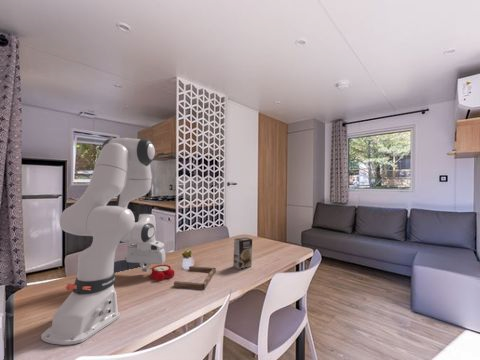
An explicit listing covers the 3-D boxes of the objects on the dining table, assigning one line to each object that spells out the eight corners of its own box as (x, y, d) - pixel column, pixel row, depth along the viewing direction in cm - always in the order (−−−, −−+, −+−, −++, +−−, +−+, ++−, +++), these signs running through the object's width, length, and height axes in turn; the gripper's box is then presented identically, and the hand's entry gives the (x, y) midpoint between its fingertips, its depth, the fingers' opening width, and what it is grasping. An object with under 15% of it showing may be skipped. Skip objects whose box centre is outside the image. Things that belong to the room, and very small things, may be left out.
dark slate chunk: (102, 267, 131) (102, 258, 131) (141, 258, 147) (141, 251, 147) (111, 275, 121) (111, 265, 121) (152, 265, 136) (152, 257, 136)
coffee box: (239, 269, 132) (240, 240, 132) (232, 266, 137) (233, 238, 137) (252, 266, 137) (252, 239, 137) (245, 263, 142) (246, 236, 143)
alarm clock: (166, 263, 129) (178, 264, 118) (166, 275, 128) (179, 277, 117) (146, 267, 122) (157, 269, 111) (147, 279, 121) (158, 283, 110)
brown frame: (204, 289, 106) (204, 285, 106) (173, 286, 108) (173, 282, 108) (215, 271, 128) (215, 267, 128) (189, 269, 130) (190, 266, 130)
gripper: (123, 244, 120) (122, 272, 119) (161, 247, 117) (160, 275, 117) (130, 241, 126) (130, 267, 126) (167, 244, 123) (166, 270, 123)
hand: (145, 271), depth 121 cm, fingers closed
